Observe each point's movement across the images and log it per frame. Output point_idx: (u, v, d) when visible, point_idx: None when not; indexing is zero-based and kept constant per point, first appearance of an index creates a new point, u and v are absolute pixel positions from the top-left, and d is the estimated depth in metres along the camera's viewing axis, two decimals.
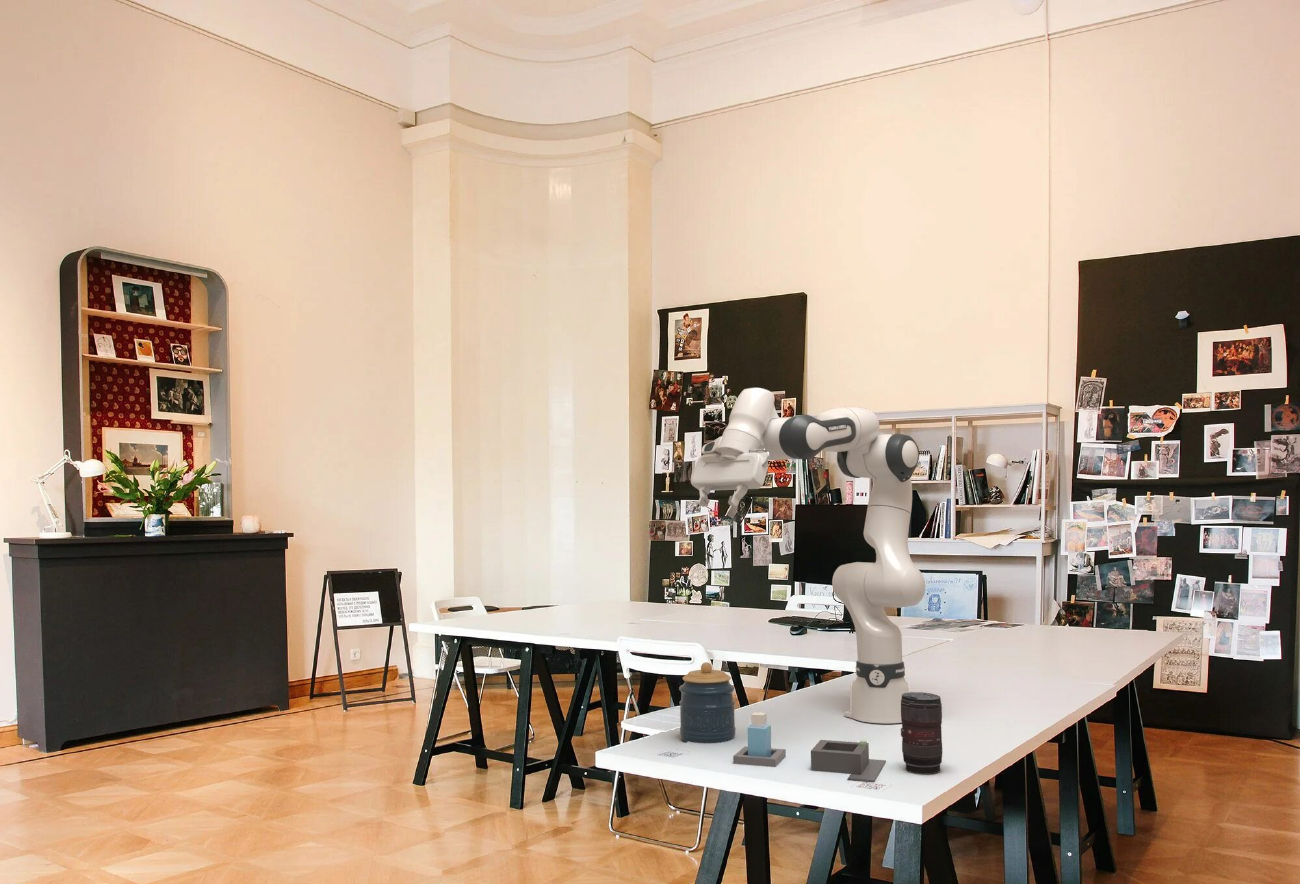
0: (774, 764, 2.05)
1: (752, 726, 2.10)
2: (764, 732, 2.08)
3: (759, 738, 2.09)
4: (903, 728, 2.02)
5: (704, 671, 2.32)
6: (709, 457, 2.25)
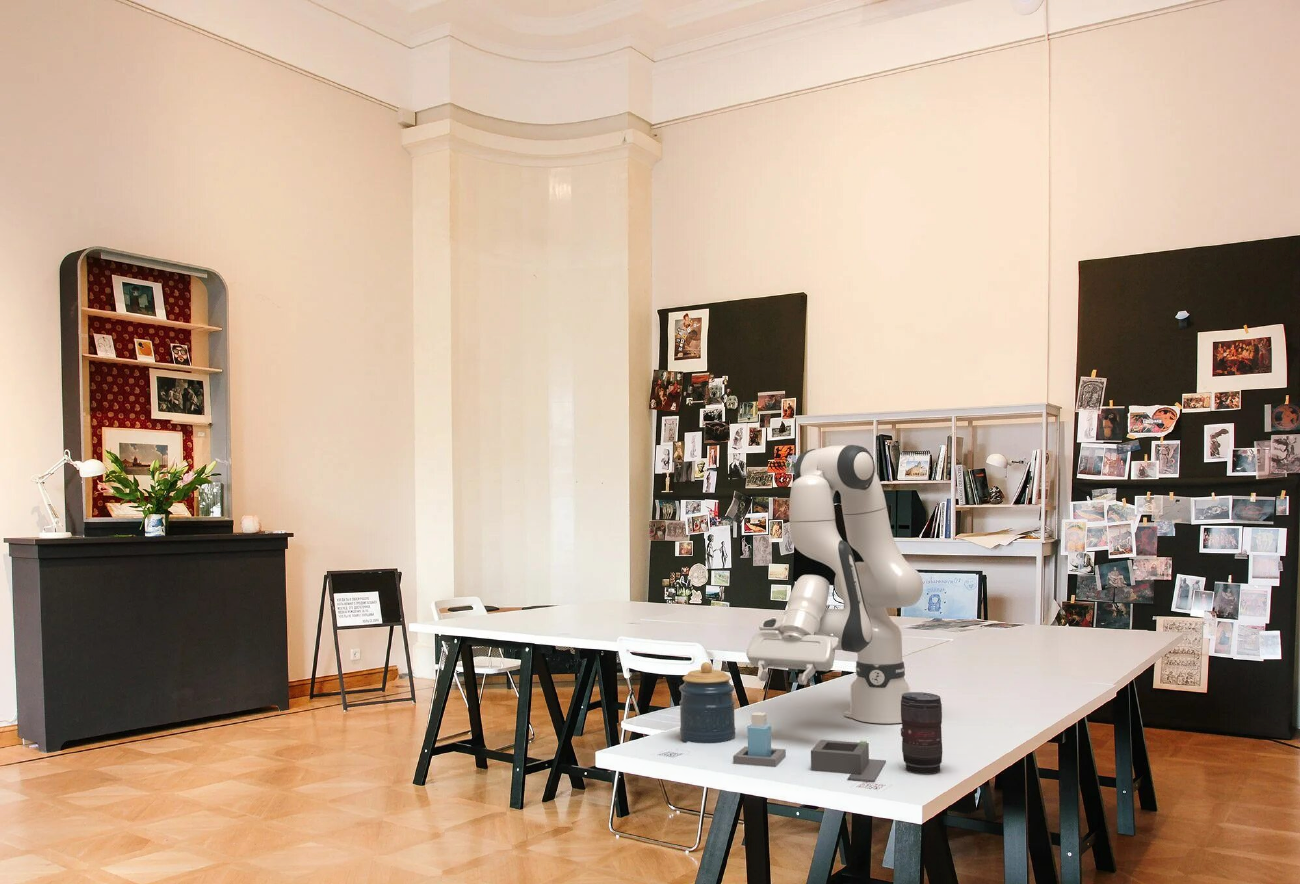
0: (774, 764, 2.05)
1: (752, 726, 2.10)
2: (764, 732, 2.08)
3: (759, 738, 2.09)
4: (903, 728, 2.02)
5: (704, 671, 2.32)
6: (769, 633, 2.30)
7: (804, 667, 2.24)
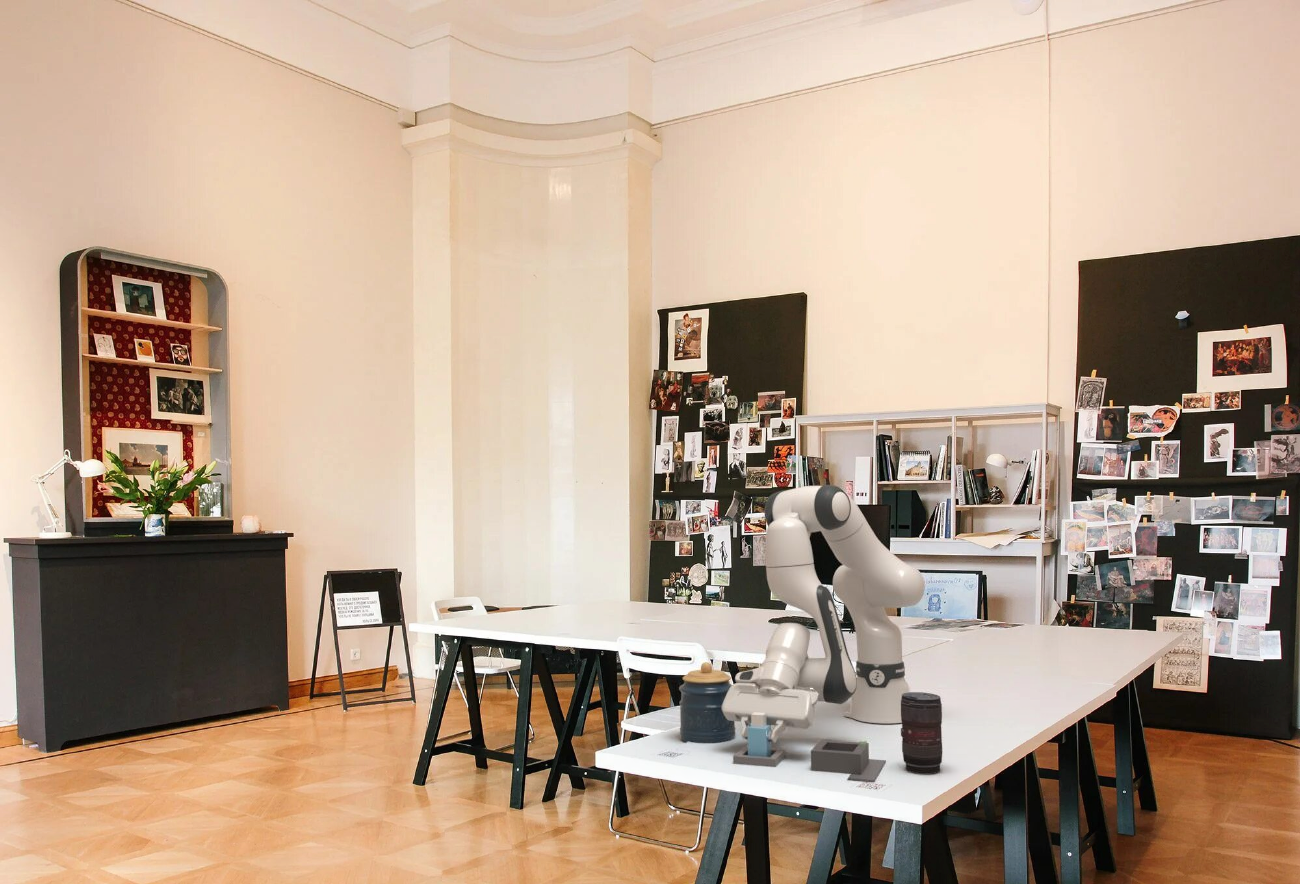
0: (774, 764, 2.05)
1: (752, 726, 2.10)
2: (764, 732, 2.08)
3: (759, 738, 2.09)
4: (903, 728, 2.02)
5: (704, 671, 2.32)
6: (746, 686, 2.19)
7: None
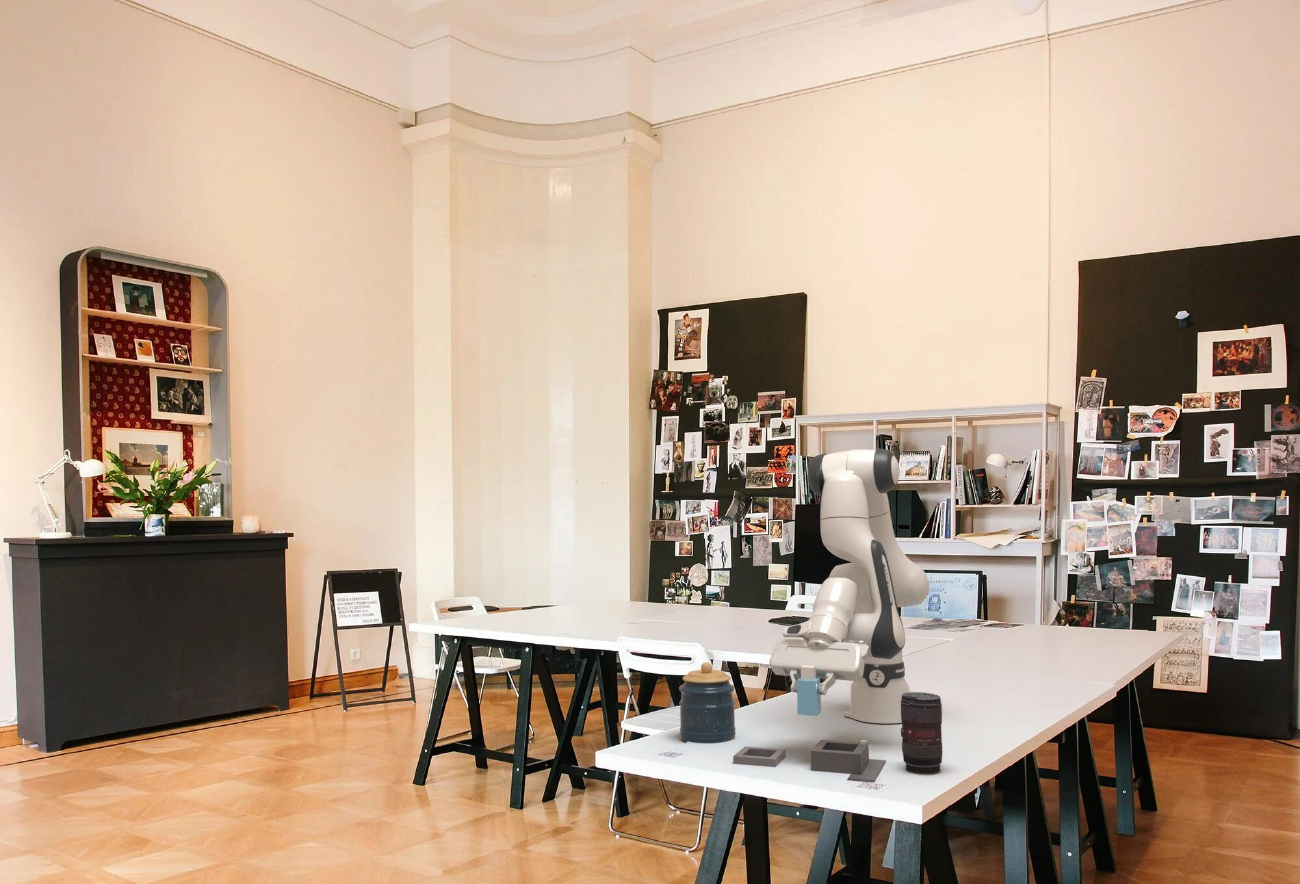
0: (774, 764, 2.05)
1: (802, 679, 2.07)
2: (814, 685, 2.05)
3: (809, 691, 2.05)
4: (903, 728, 2.02)
5: (704, 671, 2.32)
6: (794, 640, 2.15)
7: None
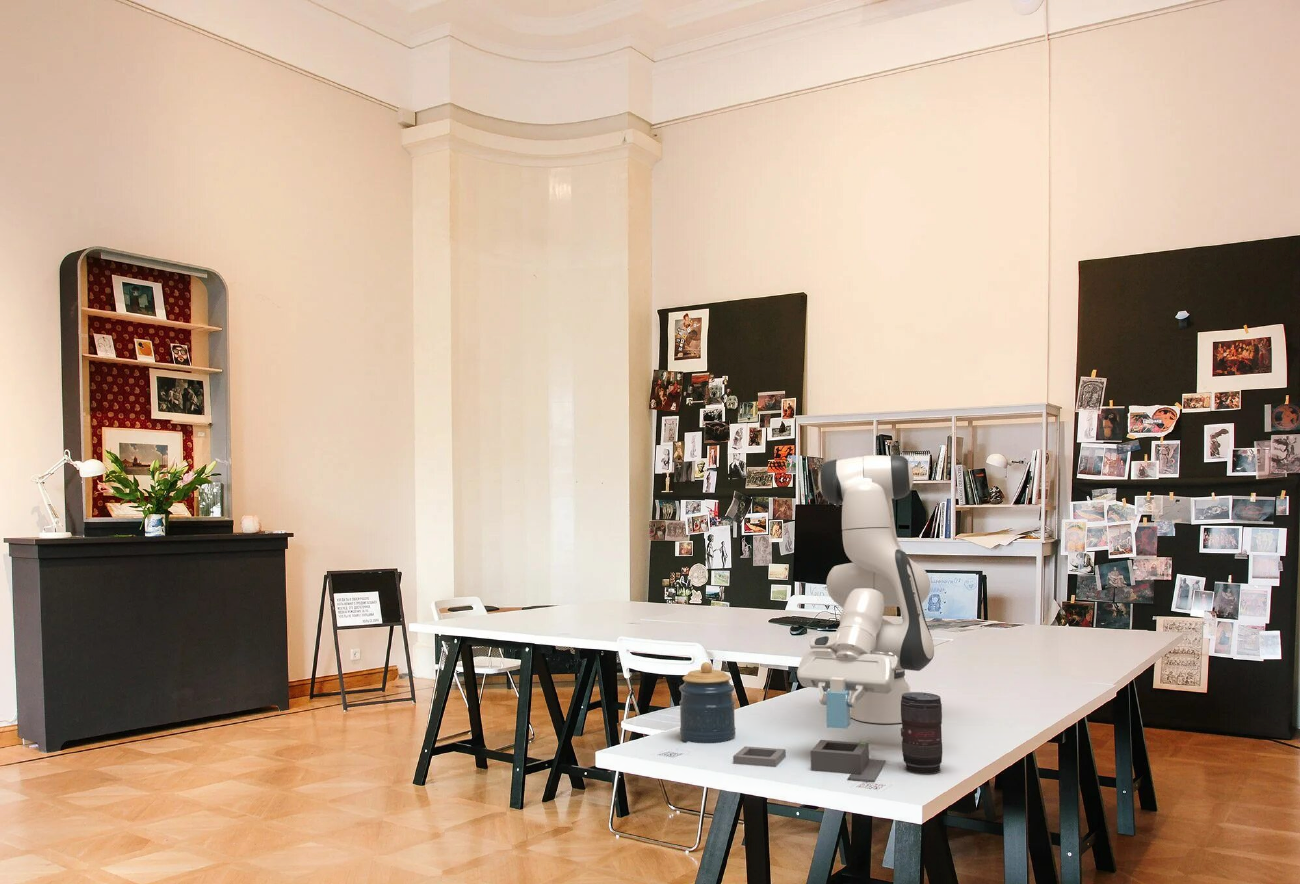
0: (774, 764, 2.05)
1: (831, 691, 2.04)
2: (844, 697, 2.02)
3: (838, 703, 2.03)
4: (903, 728, 2.02)
5: (704, 671, 2.32)
6: (822, 651, 2.13)
7: None
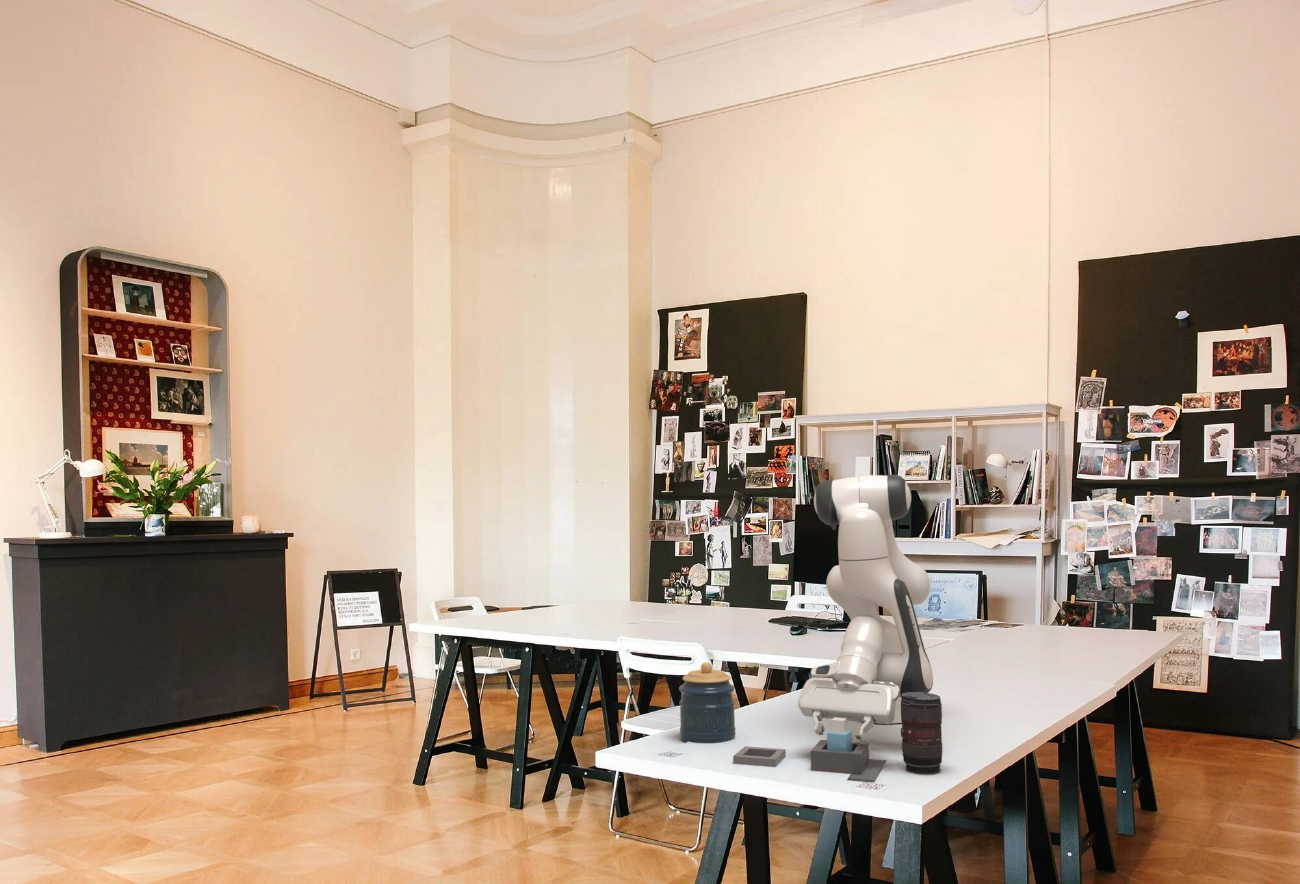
0: (774, 764, 2.05)
1: (832, 732, 2.04)
2: (844, 738, 2.02)
3: (839, 744, 2.03)
4: (903, 728, 2.02)
5: (704, 671, 2.32)
6: (823, 681, 2.13)
7: (862, 719, 2.06)
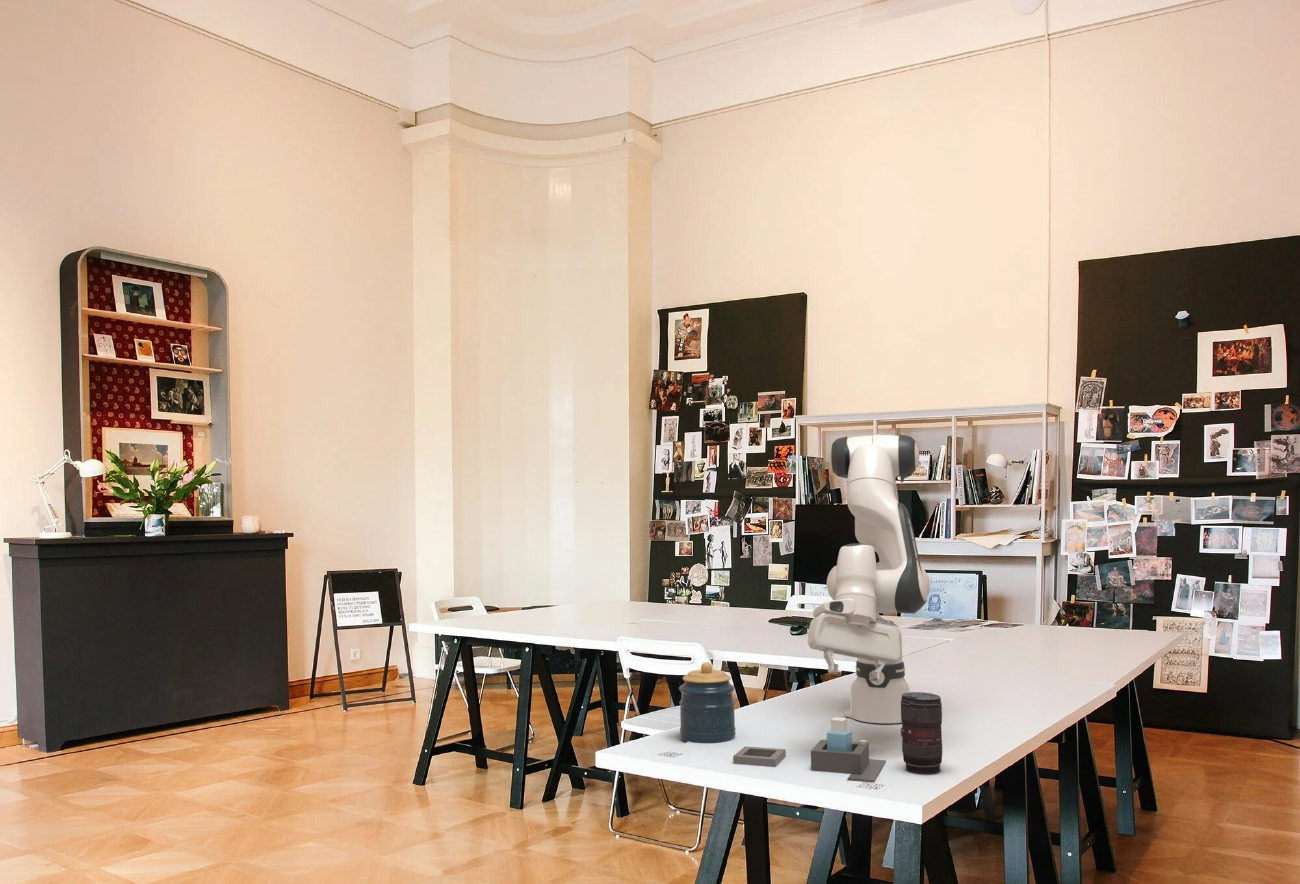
0: (774, 764, 2.05)
1: (832, 732, 2.04)
2: (844, 738, 2.02)
3: (839, 744, 2.03)
4: (903, 728, 2.02)
5: (704, 671, 2.32)
6: (837, 618, 2.11)
7: (867, 658, 2.14)
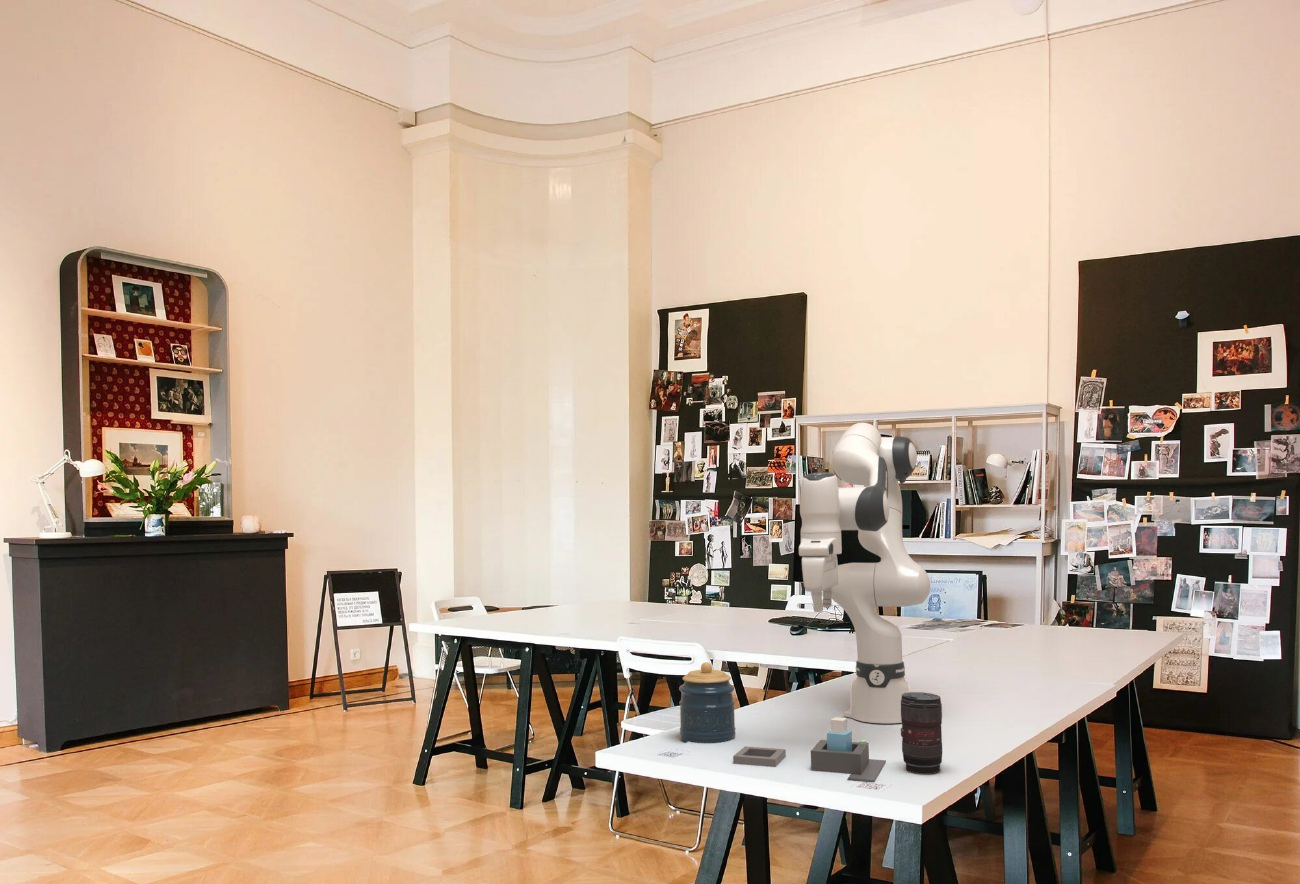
0: (774, 764, 2.05)
1: (832, 732, 2.04)
2: (844, 738, 2.02)
3: (839, 744, 2.03)
4: (903, 728, 2.02)
5: (704, 671, 2.32)
6: (828, 560, 2.13)
7: None
